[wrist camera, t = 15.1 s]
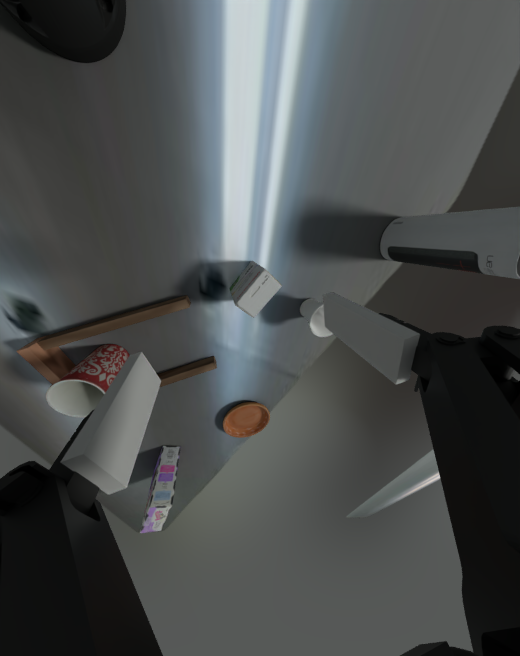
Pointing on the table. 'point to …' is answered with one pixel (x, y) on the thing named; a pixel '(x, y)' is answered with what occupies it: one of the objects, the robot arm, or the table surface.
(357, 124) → the table surface
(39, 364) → the guide channel
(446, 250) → the speaker
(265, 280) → the ink box
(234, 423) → the saucer
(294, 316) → the table surface
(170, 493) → the candy box
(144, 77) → the table surface
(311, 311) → the cup
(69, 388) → the mug
